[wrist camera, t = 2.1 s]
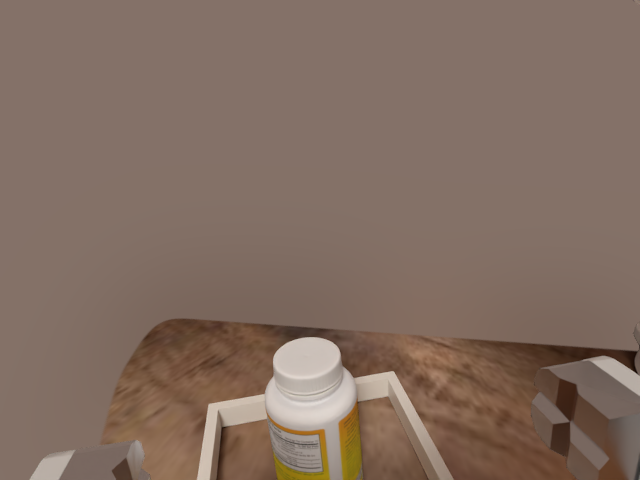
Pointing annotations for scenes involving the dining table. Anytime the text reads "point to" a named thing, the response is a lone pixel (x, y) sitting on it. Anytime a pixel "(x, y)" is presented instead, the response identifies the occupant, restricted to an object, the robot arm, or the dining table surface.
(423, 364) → the dining table surface
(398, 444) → the dining table surface
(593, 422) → the robot arm
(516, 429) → the dining table surface
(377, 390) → the white square frame
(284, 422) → the supplement bottle
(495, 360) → the dining table surface
